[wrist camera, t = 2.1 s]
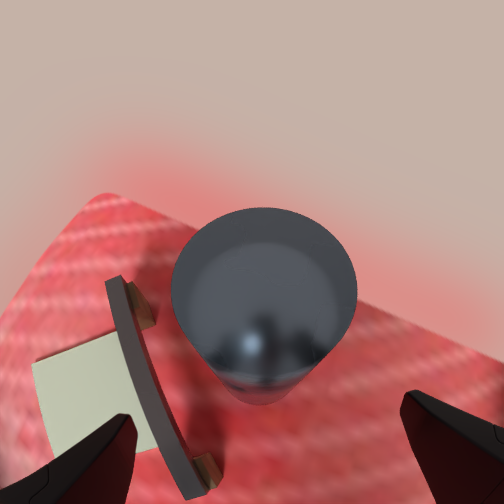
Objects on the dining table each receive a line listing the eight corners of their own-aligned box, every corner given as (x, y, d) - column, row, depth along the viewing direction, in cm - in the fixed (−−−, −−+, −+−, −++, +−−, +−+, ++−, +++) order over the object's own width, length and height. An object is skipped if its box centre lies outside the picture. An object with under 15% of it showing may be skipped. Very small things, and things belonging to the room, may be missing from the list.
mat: (160, 446, 16) (158, 446, 15) (62, 469, 14) (59, 469, 13) (119, 333, 20) (116, 330, 20) (34, 365, 18) (31, 364, 18)
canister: (311, 383, 18) (391, 315, 7) (241, 417, 17) (216, 409, 6) (275, 320, 21) (297, 188, 10) (208, 351, 20) (150, 244, 9)
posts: (223, 476, 15) (216, 487, 12) (195, 486, 14) (184, 497, 11) (148, 302, 22) (132, 281, 19) (125, 311, 21) (106, 291, 18)
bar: (210, 489, 12) (206, 494, 11) (190, 495, 11) (185, 500, 10) (127, 283, 19) (120, 274, 18) (111, 289, 18) (104, 281, 17)
